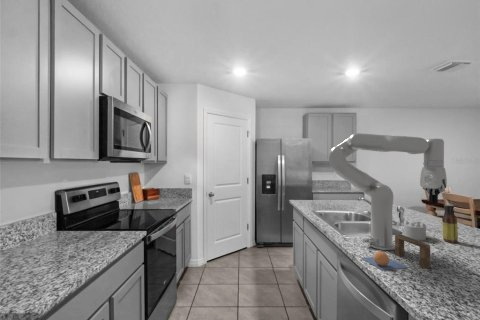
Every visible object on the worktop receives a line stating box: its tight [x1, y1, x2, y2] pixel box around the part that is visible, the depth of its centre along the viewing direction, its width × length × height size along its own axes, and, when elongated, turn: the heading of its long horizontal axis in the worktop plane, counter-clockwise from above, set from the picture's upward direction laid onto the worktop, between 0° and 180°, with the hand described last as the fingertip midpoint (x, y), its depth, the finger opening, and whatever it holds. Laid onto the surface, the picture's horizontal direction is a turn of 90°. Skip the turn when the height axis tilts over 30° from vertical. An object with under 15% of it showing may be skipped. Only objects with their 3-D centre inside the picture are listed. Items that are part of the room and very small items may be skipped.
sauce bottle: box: [441, 203, 459, 244], centre depth 130 cm, size 7×6×20 cm
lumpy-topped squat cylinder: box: [403, 220, 427, 241], centre depth 138 cm, size 10×13×9 cm
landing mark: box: [361, 256, 408, 271], centre depth 103 cm, size 12×12×1 cm
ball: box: [373, 251, 389, 266], centre depth 100 cm, size 6×6×6 cm
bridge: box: [394, 234, 431, 269], centre depth 105 cm, size 3×14×9 cm, turn 10°
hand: (433, 202), depth 115 cm, fingers closed
